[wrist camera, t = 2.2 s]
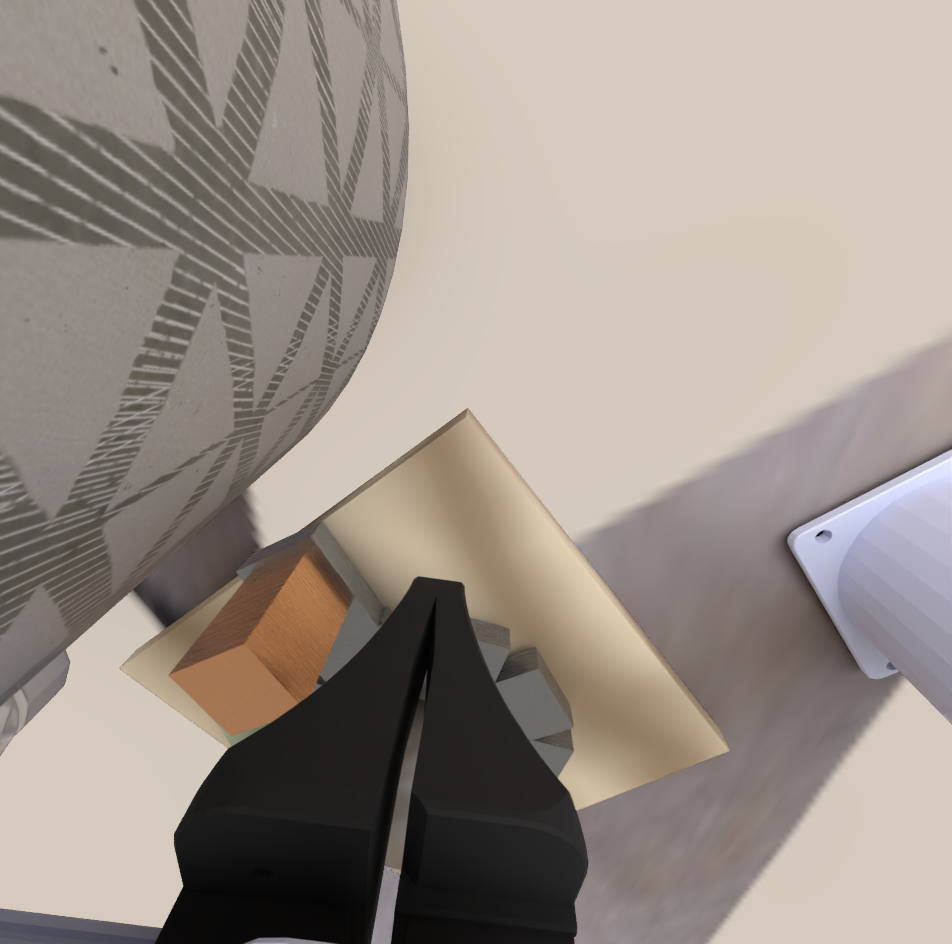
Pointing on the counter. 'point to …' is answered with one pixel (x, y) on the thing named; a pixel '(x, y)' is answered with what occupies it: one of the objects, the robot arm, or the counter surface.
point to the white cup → (32, 698)
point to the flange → (335, 645)
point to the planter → (176, 273)
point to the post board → (493, 614)
